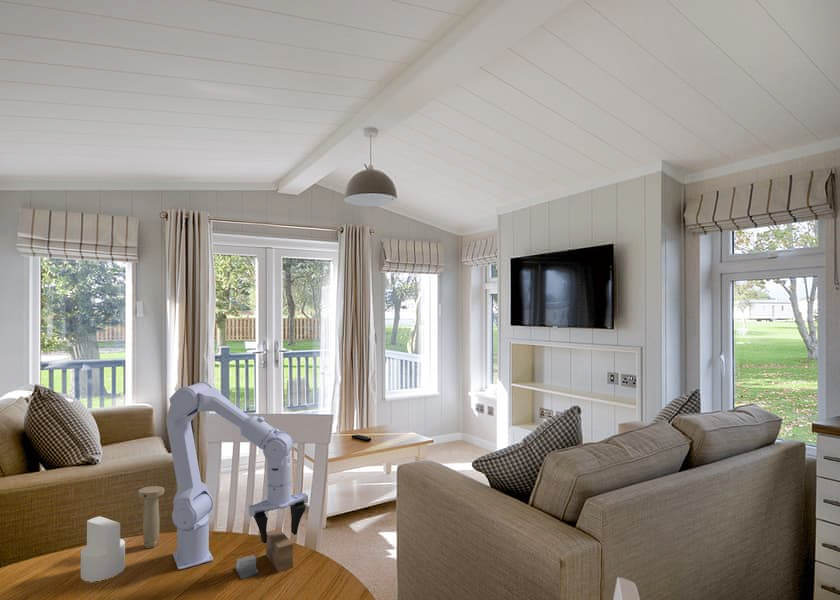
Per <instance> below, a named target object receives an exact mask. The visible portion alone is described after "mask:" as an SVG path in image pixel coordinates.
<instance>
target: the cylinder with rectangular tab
mask: <svg viewBox="0 0 840 600" xmlns="http://www.w3.org/2000/svg"><path fill="white" fill-rule="evenodd" d="M124 568H126V541H125V540H124V539H123V538H121V522H118V521H115V520H112V519H109V518H107V517H103V516H96V517H92V518H90V519H88V520H86V545H85V547H83V548H82V549H81V550H80V579H81V578H82V579H83V580H85V581H90V582H89V583H96V582H95V581H99V582H102V581H101V580H104V579H107V580H109V579H108V578H110V579H112V578H115V577H116V576H118V575H120V574H121V573H123V571H124V570H125V569H124ZM120 572H121V573H120ZM119 573H120V574H119ZM117 574H118V575H117ZM115 575H116V576H115ZM114 576H115V577H114ZM111 577H112V578H111ZM93 581H94V582H93ZM104 581H105V580H104Z"/></svg>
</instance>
